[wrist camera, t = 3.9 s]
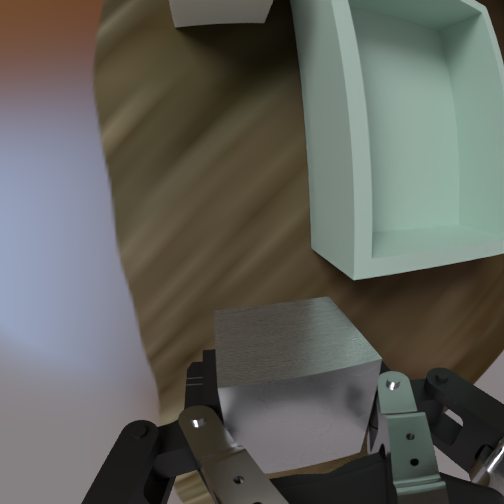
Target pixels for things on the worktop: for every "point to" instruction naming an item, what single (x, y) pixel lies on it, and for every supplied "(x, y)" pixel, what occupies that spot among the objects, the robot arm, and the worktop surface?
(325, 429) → the steel block
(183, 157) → the worktop surface
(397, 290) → the worktop surface
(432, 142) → the tote
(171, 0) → the cream box
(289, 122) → the worktop surface
